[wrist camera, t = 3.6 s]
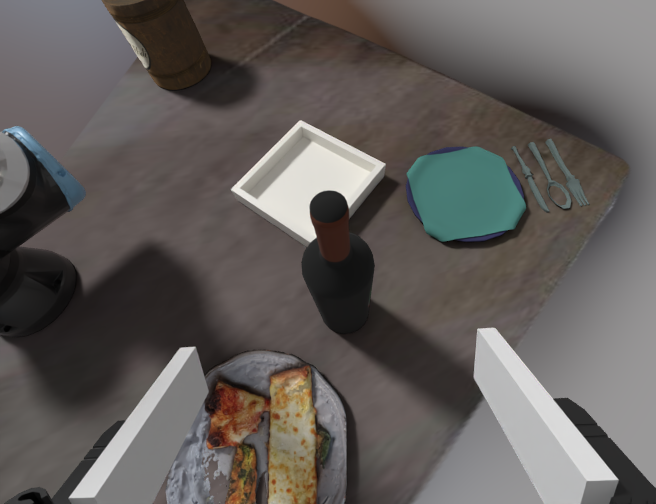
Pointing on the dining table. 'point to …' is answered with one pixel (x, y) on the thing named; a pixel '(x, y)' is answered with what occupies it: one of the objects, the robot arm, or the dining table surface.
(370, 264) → the wine bottle
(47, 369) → the dining table surface
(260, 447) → the food plate
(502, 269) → the dining table surface
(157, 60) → the wooden container
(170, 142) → the dining table surface
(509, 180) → the cutlery set
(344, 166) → the tray
